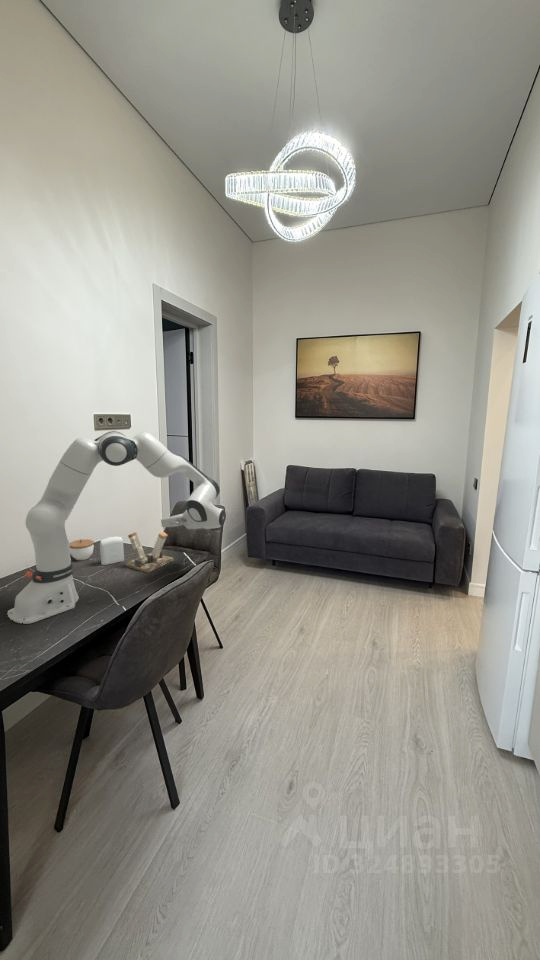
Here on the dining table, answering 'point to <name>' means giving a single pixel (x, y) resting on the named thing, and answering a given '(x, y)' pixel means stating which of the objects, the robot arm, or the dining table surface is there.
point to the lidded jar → (81, 549)
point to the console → (145, 557)
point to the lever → (159, 545)
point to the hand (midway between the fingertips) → (166, 519)
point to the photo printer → (111, 550)
